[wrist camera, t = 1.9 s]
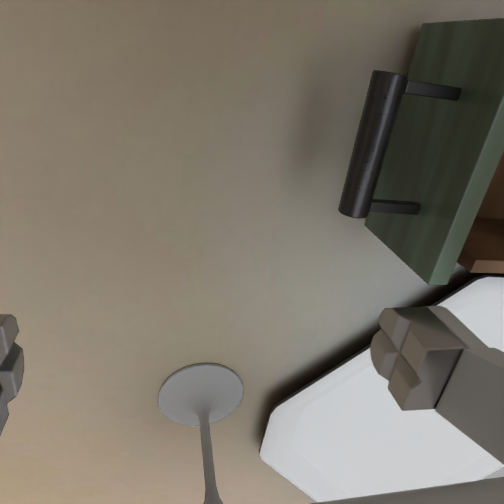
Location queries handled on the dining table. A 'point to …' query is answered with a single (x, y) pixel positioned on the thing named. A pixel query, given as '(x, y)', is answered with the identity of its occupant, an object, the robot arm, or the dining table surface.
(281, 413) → the plate
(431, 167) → the drawer
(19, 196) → the dining table surface
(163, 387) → the wineglass
